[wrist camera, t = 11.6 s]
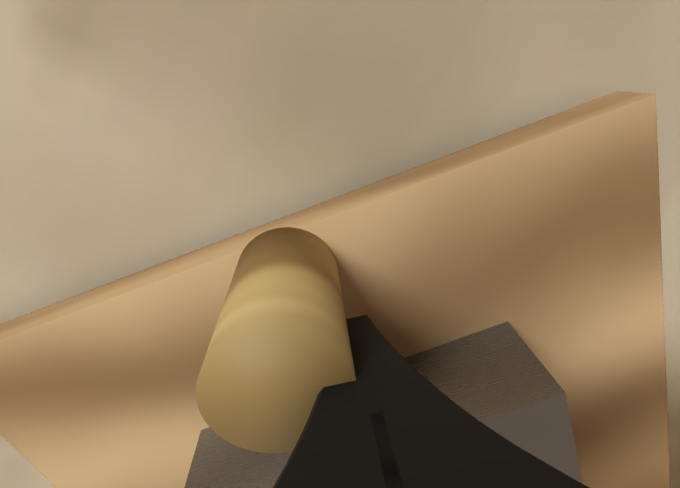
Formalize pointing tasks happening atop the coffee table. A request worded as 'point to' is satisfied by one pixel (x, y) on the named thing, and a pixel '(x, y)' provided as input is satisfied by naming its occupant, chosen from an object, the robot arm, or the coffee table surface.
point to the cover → (457, 384)
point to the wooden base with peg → (371, 310)
